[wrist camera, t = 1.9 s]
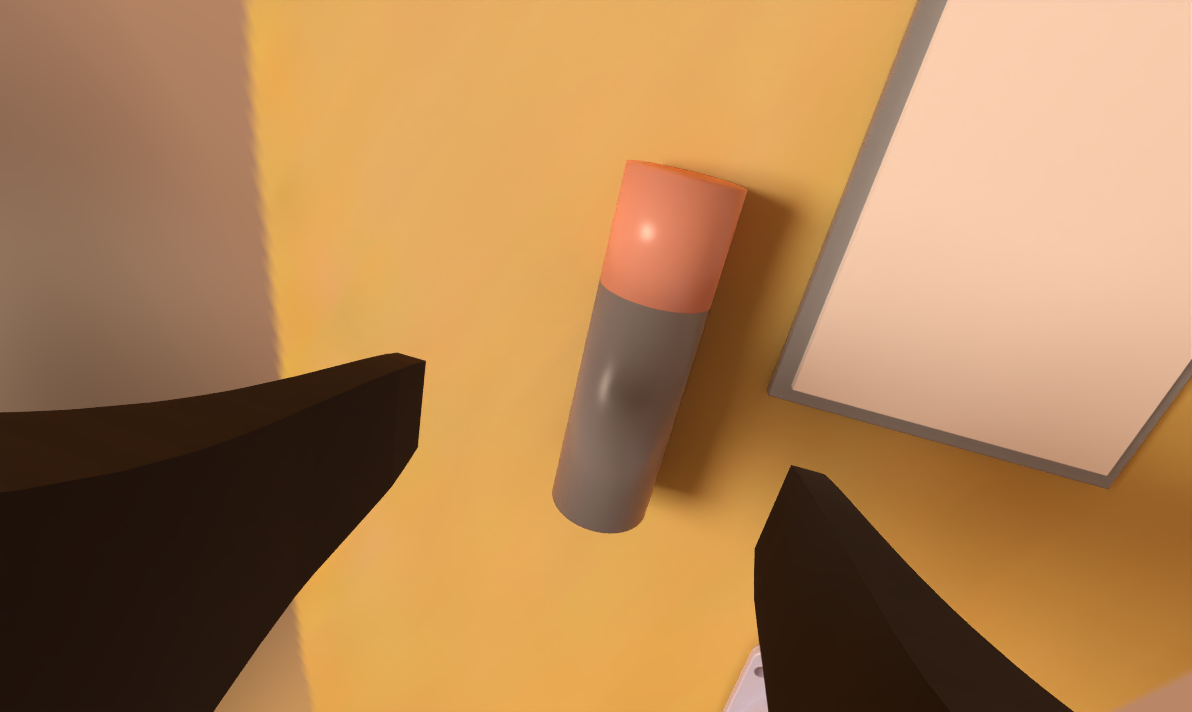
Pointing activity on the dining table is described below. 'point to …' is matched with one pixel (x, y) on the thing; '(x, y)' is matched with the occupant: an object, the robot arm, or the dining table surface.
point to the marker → (642, 339)
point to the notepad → (1014, 238)
